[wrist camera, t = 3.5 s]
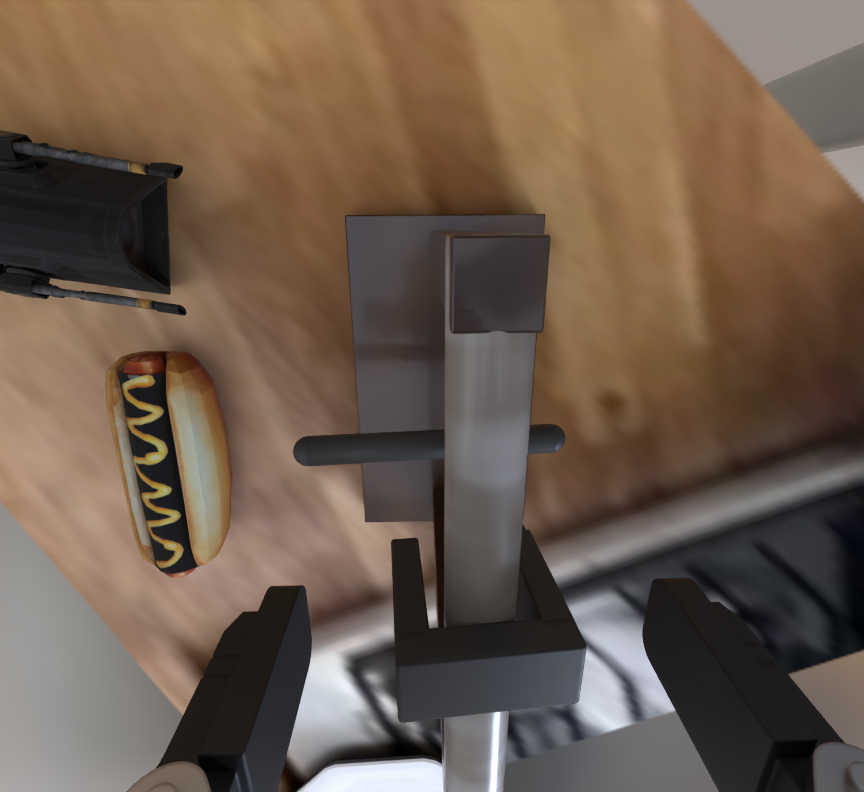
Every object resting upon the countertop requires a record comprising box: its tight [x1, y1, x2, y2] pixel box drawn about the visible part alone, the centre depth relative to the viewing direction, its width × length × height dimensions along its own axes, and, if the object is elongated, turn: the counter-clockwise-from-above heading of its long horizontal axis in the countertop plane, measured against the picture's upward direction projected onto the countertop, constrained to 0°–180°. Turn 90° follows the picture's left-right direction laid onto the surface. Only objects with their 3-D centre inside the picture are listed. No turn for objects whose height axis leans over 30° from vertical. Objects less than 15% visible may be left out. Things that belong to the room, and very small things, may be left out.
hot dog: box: [106, 351, 232, 578], centre depth 26 cm, size 5×13×5 cm, turn 178°
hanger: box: [293, 424, 586, 723], centre depth 14 cm, size 11×2×11 cm, turn 90°
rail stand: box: [345, 214, 550, 792], centre depth 18 cm, size 10×18×19 cm, turn 0°
